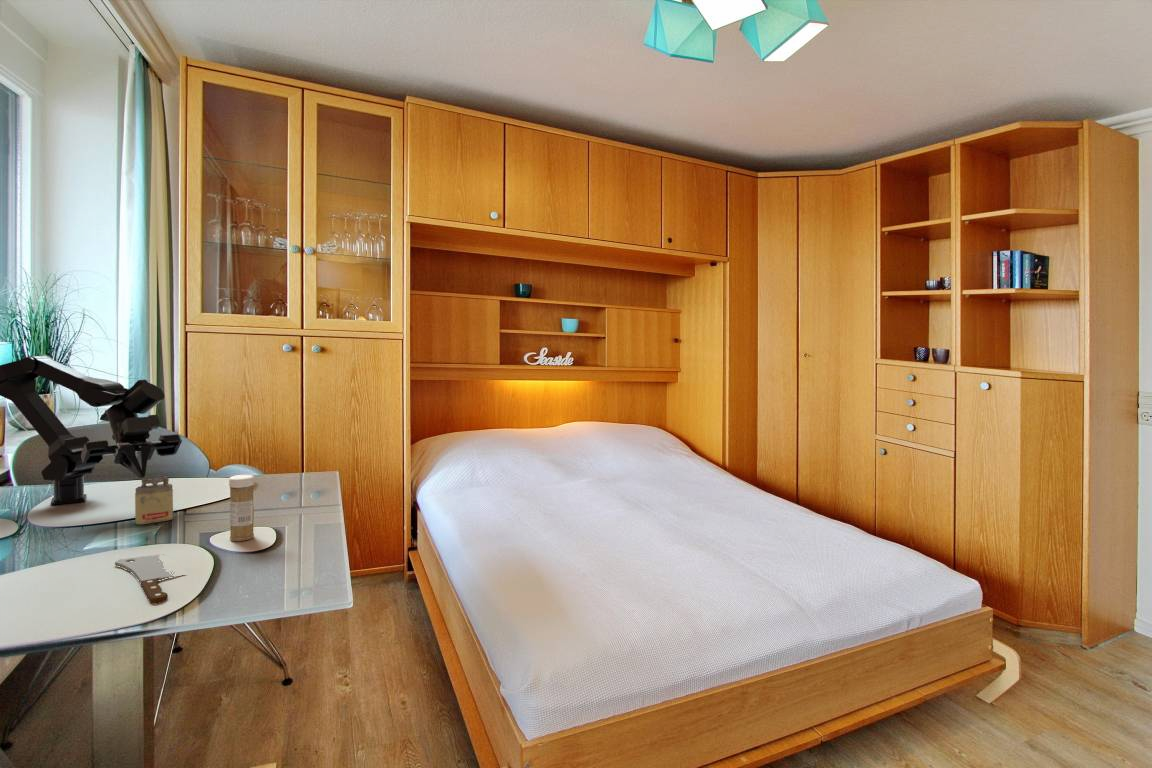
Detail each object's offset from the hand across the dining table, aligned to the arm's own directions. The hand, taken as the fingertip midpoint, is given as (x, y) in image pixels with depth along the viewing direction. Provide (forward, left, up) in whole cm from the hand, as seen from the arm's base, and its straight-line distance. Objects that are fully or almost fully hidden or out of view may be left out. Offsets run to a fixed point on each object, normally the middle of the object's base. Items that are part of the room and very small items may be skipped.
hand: (142, 476), depth 135 cm
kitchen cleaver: (+44, +1, -10) cm, 45 cm away
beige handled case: (+7, +2, -9) cm, 12 cm away
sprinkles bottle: (+30, +16, -9) cm, 35 cm away
